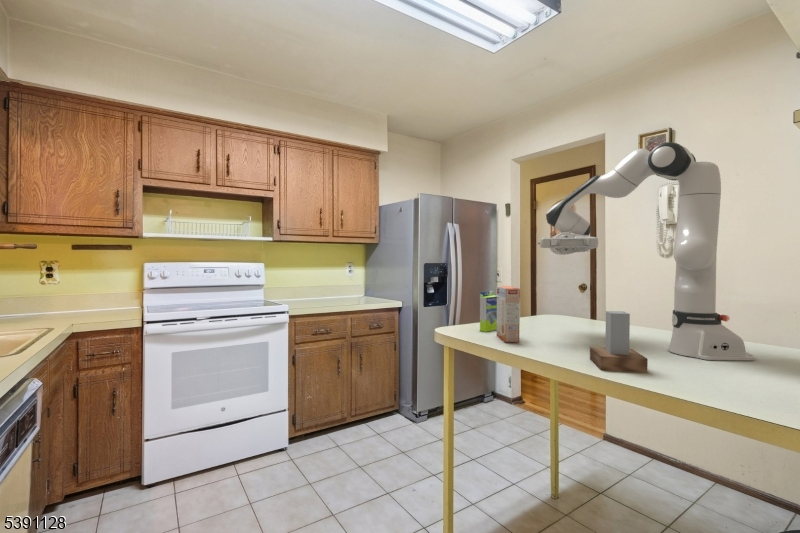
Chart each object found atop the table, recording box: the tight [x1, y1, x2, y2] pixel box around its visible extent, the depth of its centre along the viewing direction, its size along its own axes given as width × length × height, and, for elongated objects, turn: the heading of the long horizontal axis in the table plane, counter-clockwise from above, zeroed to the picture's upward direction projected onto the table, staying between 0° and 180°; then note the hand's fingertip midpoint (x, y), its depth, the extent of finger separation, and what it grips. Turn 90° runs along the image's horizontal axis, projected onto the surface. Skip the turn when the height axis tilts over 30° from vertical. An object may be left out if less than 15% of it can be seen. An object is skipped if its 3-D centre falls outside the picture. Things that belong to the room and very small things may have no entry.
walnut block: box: [589, 346, 648, 374], centre depth 114 cm, size 12×12×4 cm
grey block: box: [604, 310, 631, 355], centre depth 114 cm, size 5×5×12 cm
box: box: [479, 290, 497, 333], centre depth 171 cm, size 10×4×17 cm, turn 132°
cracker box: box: [495, 285, 521, 344], centre depth 152 cm, size 14×6×21 cm, turn 179°
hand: (572, 242), depth 139 cm, fingers open, 8 cm apart
